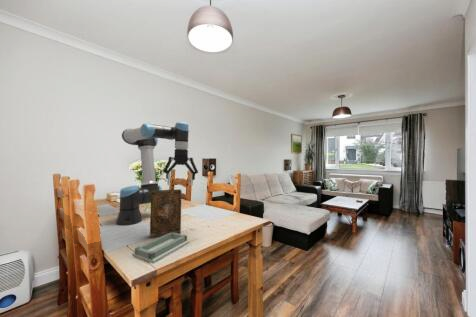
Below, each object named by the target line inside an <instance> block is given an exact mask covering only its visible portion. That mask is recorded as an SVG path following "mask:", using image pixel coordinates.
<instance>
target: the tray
mask: <svg viewBox="0 0 476 317" xmlns="http://www.w3.org/2000/svg"><path fill="white" fill-rule="evenodd" d="M189 244H190V240H188V235H185V234H178V233H174V232H170V233H168V234H166V235H164V236H161V237H157V238H155V239H153V240H149V241H148V242H146V243H144V244H141V245H140V246H139V245H138V246H137V247H134V252H132V253H131V256H134V257H136V258H139V259H141V260H144V261H147V262H150V263H153V264H155V263H157V262H159V261H160V260H162V259H164V258H165V257H167V256H169V255H171V254H173V253H174V252H176V251H178V250H180V249H181V248H183V247H185V246H187V245H189Z"/></svg>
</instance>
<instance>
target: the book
mask: <svg viewBox="0 0 476 317" xmlns="http://www.w3.org/2000/svg"><path fill="white" fill-rule="evenodd" d="M149 218H150V219H149V220H150V222H149V223H150V224H149V225H150V226H149V236H150V238H151V239H154V238H155V239H157V238H159V237H161V236H164V235H166V234H168V233H170V232H174V233H178V234H181V232H182V229H181V228H182V189H179V188H177V189H162V190H157V191H151V203H150V217H149Z"/></svg>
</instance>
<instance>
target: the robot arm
mask: <svg viewBox="0 0 476 317" xmlns="http://www.w3.org/2000/svg"><path fill="white" fill-rule="evenodd" d="M189 132H190V129H189V124H188V123H187V122H182V121H181V122H176V123H175V126H173V127H172V126H167V125H157V124H152V123H143V124H142V125H140V127H137V128H126V129H124V130H122V133H121V139H122V140H123V142H124V143H126V144H128V145H131V146H137V149H138V150H140V162H141V176H142V177H141V178H142V183H141V184H140V186H139V185H131V186H125V187H122V188H121V189H120V191H119V212H118V214H117V217H116V220H115V221H116V225H119V226H128V225H129V226H130V225H134V224H138V223H141V222H142V220H143V216H142V212H141V210H140V205H143V204H144V205H145V204H151V191H157V190H163V189H162V187H161V186H160V185H159V182H157V181H156V171H155V158H154V149H155V148H156V146H158V140H159V139H162V140H163V139H165V140H169V141H170V140H171V141H174V156H173V157H172V156H169V157H168V161H167V163H166V164H165V167H164V168H163V170H162V172H163V173H165V174H166V175H165V179H166V180H167V186H169V185H171V174H172V173H171V172H172V170H174V168H175V167H176V166H177V165H178V166H179V165H180V166H185V167H186V168H187V169H188V171H189V172H190V173H191V174H190V186H191V187H192V186H194V181H195V179H196V174H198V173H199V171H198V169H197V167H196V164H195V162H194V157H188V156H189V150H188V148H189ZM172 161H174V162H173V164H172ZM188 161H189V162H190V164H191V165H190V164H189V163H188ZM171 164H172V165H171ZM191 166H192V167H191Z"/></svg>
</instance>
